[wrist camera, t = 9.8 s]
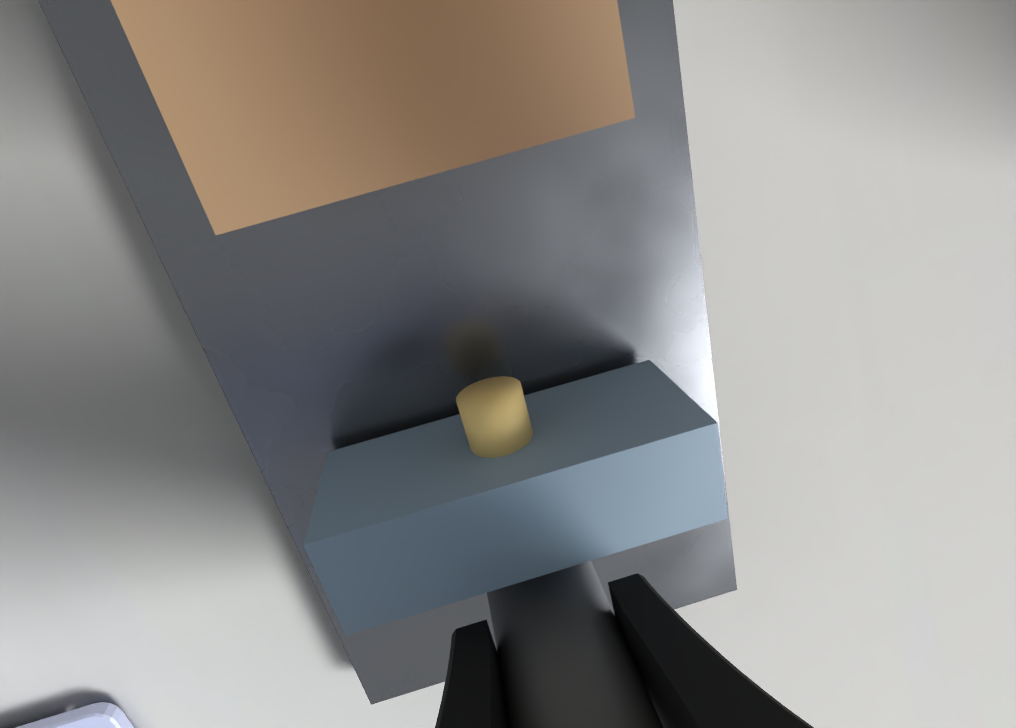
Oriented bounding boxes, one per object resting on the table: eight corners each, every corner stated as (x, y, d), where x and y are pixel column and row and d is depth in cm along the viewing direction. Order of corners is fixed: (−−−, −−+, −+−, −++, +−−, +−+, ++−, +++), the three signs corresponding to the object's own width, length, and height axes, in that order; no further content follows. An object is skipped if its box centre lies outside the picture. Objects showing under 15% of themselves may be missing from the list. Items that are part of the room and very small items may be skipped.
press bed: (719, 564, 17) (793, 667, 14) (373, 672, 16) (365, 805, 13) (596, -439, 9) (700, -756, 6) (-73, -304, 8) (-366, -572, 5)
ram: (678, 549, 15) (862, 829, 9) (402, 634, 14) (400, 988, 8) (642, 315, 12) (862, 484, 6) (309, 409, 12) (213, 684, 6)
